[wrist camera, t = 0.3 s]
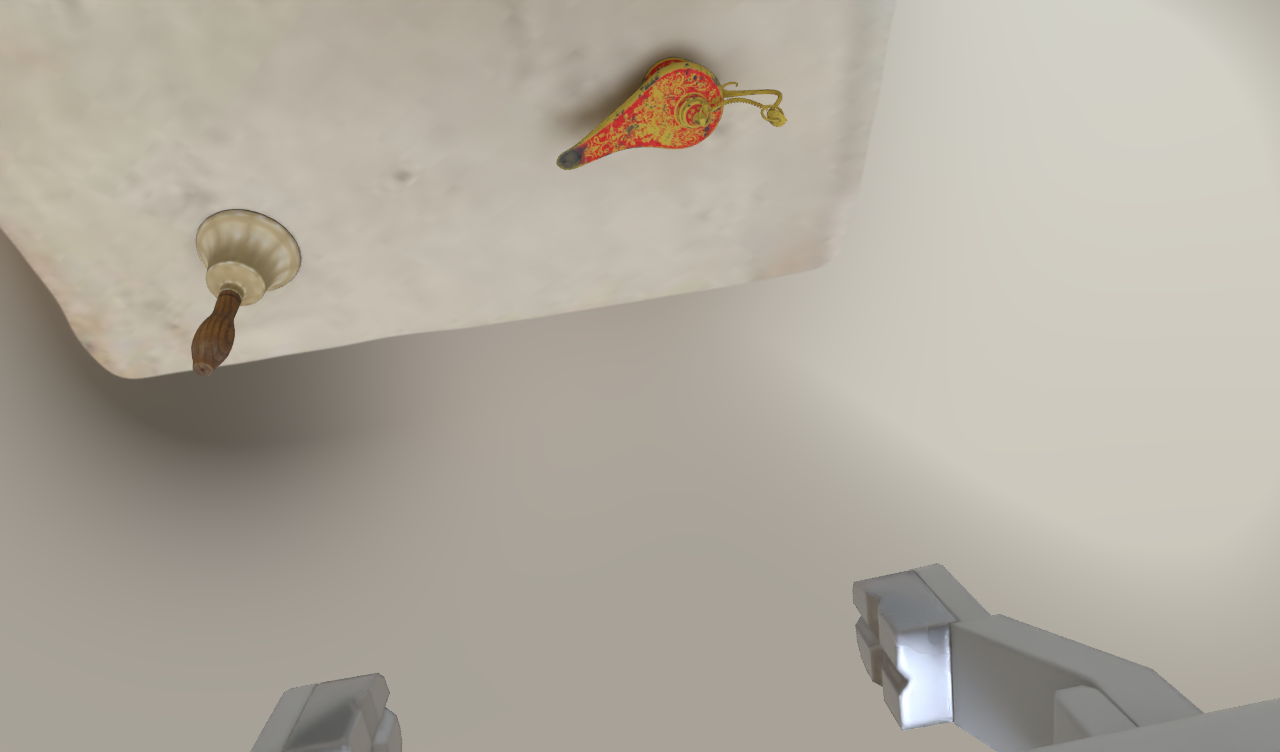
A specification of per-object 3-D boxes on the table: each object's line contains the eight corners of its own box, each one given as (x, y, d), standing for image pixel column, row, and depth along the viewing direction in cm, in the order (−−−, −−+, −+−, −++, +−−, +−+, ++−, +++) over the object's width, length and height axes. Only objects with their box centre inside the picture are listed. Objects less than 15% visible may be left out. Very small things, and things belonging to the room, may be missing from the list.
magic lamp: (536, 89, 58) (545, 150, 50) (750, 18, 57) (794, 69, 49) (563, 163, 63) (575, 230, 55) (761, 100, 62) (803, 158, 54)
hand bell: (219, 191, 59) (156, 308, 48) (317, 241, 64) (282, 359, 52) (181, 260, 63) (114, 384, 51) (276, 303, 67) (235, 426, 56)
